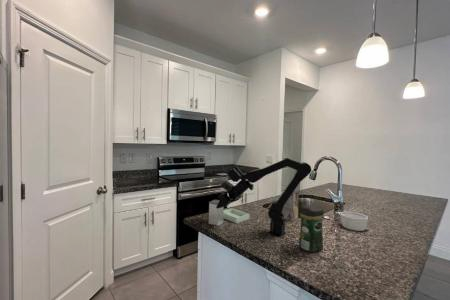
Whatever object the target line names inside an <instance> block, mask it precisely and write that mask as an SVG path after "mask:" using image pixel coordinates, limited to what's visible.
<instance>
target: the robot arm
mask: <svg viewBox="0 0 450 300" xmlns="http://www.w3.org/2000/svg"><path fill="white" fill-rule="evenodd" d="M287 167H288V168H291V169H292V170H295V171H294V175H293V176H292V177H291V180H290V181H289V182H288V184H287V185H286V187H285V189H284V190H283V192H282V193H281V194H280V196H279V197H278V199H276V200H274V199H272V202H271V203H270V204H269V205H268V207H267V208H268V209H267V210H268V212H267V215H268V217H269V218H270V224H269V231H268V233H269V234H271V235H273V236H276V237H279V238H280V237H283V236H285V235H286V234H287V232H286V222H285V219H284V215H283V207H284V205H285V203H286V202H287V200H288V199H289V197H290V196H291V194H292V193H293V192H294V191H295V190H296V189H297V188H298V186H299V185H300V183H301V182H302V181H303V180H304V179H305V178H307V177H308V176H309V175H310V174H311V172H312V166H311V165H310V164H308V163H307V162H304V161H303V162H299V161H296V160H294V159H290V158H289V157H285V158H283V159H281V160H280V161H277V162H275V163H273V164H270V165H267V166H265V167H263V168H262V167H261V168H258V169H254V170H253V169H252V170H250V171H249V172H244V173H243V172H242V170H240V169H239V167H238V166H237V165H236V166H234V167H233V168H231V169H230V170H229V171H228V172H227V173H226V176H228V178H230V179H231V181H232V182H233V183H235V182H236V184H235V185H234V184H233V183H231V182H230V181H229V180H223V182H222V183H221V184H220V188H222V189H224V190H225V191H226V193H225V192H223V193H221V194H219V195H218V196H217V197H218V200H220V201H219V203H218V205H217V206H216V208H217V209H218V208H221V207H224V208H225V207H227V206H229V205H230V204H231V203H232V204H233V203H234V202H237V201H239V200H241V199H242V198H243V195H244V193H245V192H246V191H247V190H248V189H249V190H250V191H253V190H254V189H255V188H254V183H257V182H258V181H259V180H261V179H262V178H264V177H266V176H268V175H270V174H272V173H274V172H278V171H279V170H282V169H285V168H287Z"/></svg>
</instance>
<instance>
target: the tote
mask: <svg viewBox="0 0 450 300" xmlns="http://www.w3.org/2000/svg"><path fill="white" fill-rule="evenodd" d="M223 220H227V221H229V222H232V223H235V224H239V223H242V222H245V221H248V220H250V213H248V212H244V211H241V210H239V209H235V208H233V207H232V208H228V209H224V218H223Z"/></svg>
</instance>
